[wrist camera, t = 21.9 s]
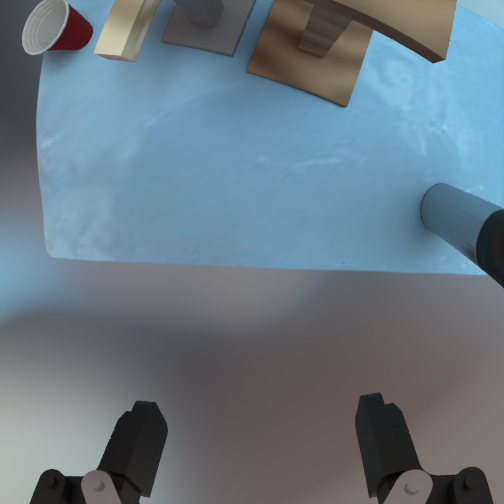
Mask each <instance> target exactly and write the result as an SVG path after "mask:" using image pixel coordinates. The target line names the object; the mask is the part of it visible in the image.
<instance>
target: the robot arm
mask: <svg viewBox="0 0 504 504" xmlns="http://www.w3.org/2000/svg"><path fill="white" fill-rule="evenodd" d="M421 216H422V220H423V222H424V224H425V225H426V227H427V228H429V229H430V230H431V231H433V232H434V233H435V234H437V235H438V236H439V237H441V238H442V239H443V240H445V241H446V242H447V243H449V244H450V245H451V246H453V247H454V248H455V249H457V250H458V251H459V252H461V253H462V254H463V255H465V256H466V257H467V258H468V259H470V260H471V261H472V262H473V263H475V264H476V265H477V266H478V267H480V268H481V269H482V270H483V271H484V272H486V273H487V274H488V275H489V276H491V277H492V278H493V279H494V280H496V282H498V283H499V284H500V285H501V286H502V287H503V288H504V208H502V207H500V206H497V205H495V204H493V203H491V202H488V201H486V200H484V199H482V198H479V197H477V196H475V195H472V194H470V193H468V192H465V191H463V190H460V189H458V188H455V187H453V186H450V185H448V184H437V185H435V186H433V187H432V188H430V189H429V190H428V192H427V193H426V194H425V196H424V198H423V201H422V205H421ZM355 427H356V433H357V438H358V442H359V447H360V452H361V457H362V462H363V467H364V472H365V477H366V483H367V488H368V494H369V498H371V497H376V496H377V498H378V504H493V500H492V497H491V493H490V490H489V486H488V483H487V479H486V476H485V474H484V472H483V471H482V470H480V469H479V468H476V467H468V468H465V469H463V470H462V471H460V472H459V473H458V474H456V475H440V476H438V475H432V474H429V473H427V472H426V471H424V470H423V468H422V467H421V466H420V463H419V460H418V457H417V454H416V451H415V448H414V445H413V442H412V439H411V436H410V434H409V430H408V428H407V425H406V422H405V419H404V416H403V413H402V411H401V410H400V409H399V408H398V407H397V406H396V405H395V404H394V403H390V404H384V401H383V398H382V395H381V393H380V392H378V393H372V394H367V395H361V396H360V400H359V405H358V409H357V414H356V417H355ZM167 433H168V427H167V423H166V421H165V419H164V417H163V415H162V413H161V412H160V410H159V408H158V406H157V404H156V403H155V402H148V401H136V402H135V404H134V406H133V409H132V411H131V412H130V411H126V412H125V413H124V414H123V415H122V416H121V417H120V418H119V419H118V421H117V424H116V426H115V428H114V431H113V433H112V435H111V439H110V440H109V442H108V444H107V447H106V449H105V452H104V454H103V457H102V459H101V461H100V464H99V466H98V468H97V469H96V470H93V471H91V472H88V473H87V474H86V475H85V476H81V477H80V476H64V475H63V474H62V473H61V472H59V471H58V470H55V469H50V470H46V471H45V472H43V474H42V475H41V476H40V478H39V481H38V484H37V486H36V488H35V491H34V493H33V496H32V499H31V501H30V504H140V503H139V499H140V496H145V497H149V498H150V494H151V491H152V487H153V484H154V480H155V476H156V473H157V469H158V466H159V462H160V458H161V455H162V452H163V448H164V445H165V441H166V437H167Z"/></svg>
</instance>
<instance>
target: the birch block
mask: <svg viewBox="0 0 504 504" xmlns="http://www.w3.org/2000/svg"><path fill="white" fill-rule="evenodd" d="M160 1H161V0H115V2H114V4H113V6H112V9H111V11H110V13H109V15H108V18H107V20H106V22H105V25H104V27H103V29H102V32H101V34H100V37H99V40H98V42H97V45H96V48H95V50H94V53H93V54H96V55H99V56H102V57H105V58H107V59H112V60H122V61H130V62H136V59H137V56H138V53H139V51H140V48H141V45H142V43H143V40H144V38H145V35H146V33H147V30H148V28H149V26H150V23H151V21H152V19H153V16H154V14H155V12H156V10H157V7H158V5H159V3H160Z"/></svg>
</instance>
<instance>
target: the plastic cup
mask: <svg viewBox="0 0 504 504" xmlns="http://www.w3.org/2000/svg"><path fill="white" fill-rule="evenodd" d="M92 33H93V29H92V26H91V25H90V23H89V22H88V21H87V20H85V18H84V17H83V16H82V15H81V14H79V13H78V12H77V11H76V10H75V9H73V8H72V7H71V5H69V3H68V2H67V0H44V1H43V2H41V3H40V4H38V6H37V7H36V8H35V9H34V10H33V12H32V13H31V14H30V16H29V18H28V20H27V22H26V24H25V26H24V31H23V35H22V41H23V47H24V49H25V51H26V52H27V53H29V54H31V55H35V54H40V53H43V52H45V51H47V50H75V49H80V48H82V47H84V46H85V45H86V44H87V43H88V42H89V40H90V39H91V37H92Z"/></svg>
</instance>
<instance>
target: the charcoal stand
mask: <svg viewBox="0 0 504 504" xmlns="http://www.w3.org/2000/svg"><path fill="white" fill-rule="evenodd" d="M174 1H175V2H176V3H177V5H176V7H175V9H174V11H173V13H172V16H171V18H170V20H169V23H168V25H167V27H166V30H165V32H164V34H163V37H162V39H161V41H162V42H163V43H166V44H173V45H179V46H185V47H190V48H196V49H201V50H206V51H210V52H215V53H219V54H224V55H228V56H232V57H233V55H234V53H235V50H236V48H237V45H238V43H239V40H240V38H241V35H242V33H243V30H244V28H245V26H246V23H247V21H248V19H249V16H250V14H251V12H252V9H253V7H254V5H255V3H256V0H174Z"/></svg>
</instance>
